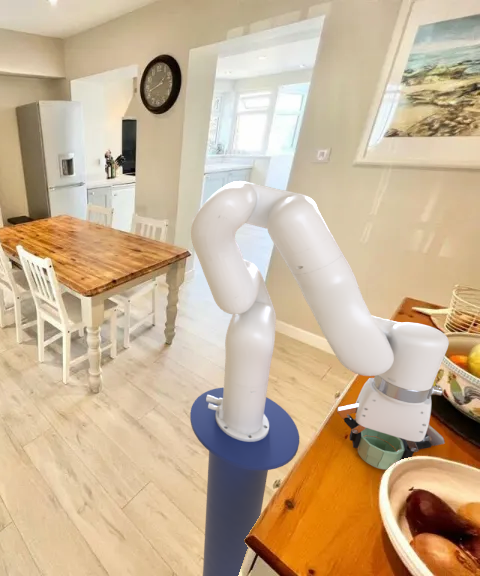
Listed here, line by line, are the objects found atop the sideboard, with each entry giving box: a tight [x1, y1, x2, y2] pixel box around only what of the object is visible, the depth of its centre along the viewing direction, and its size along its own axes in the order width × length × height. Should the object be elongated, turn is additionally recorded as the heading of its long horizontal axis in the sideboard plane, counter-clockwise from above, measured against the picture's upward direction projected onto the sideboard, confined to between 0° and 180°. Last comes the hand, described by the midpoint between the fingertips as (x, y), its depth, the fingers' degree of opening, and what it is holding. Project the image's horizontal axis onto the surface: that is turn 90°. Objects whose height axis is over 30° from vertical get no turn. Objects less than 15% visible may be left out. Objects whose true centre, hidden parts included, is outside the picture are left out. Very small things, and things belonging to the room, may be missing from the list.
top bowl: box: [357, 428, 405, 470], centre depth 64 cm, size 7×7×6 cm
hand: (377, 450), depth 65 cm, fingers closed on top bowl, 6 cm apart
